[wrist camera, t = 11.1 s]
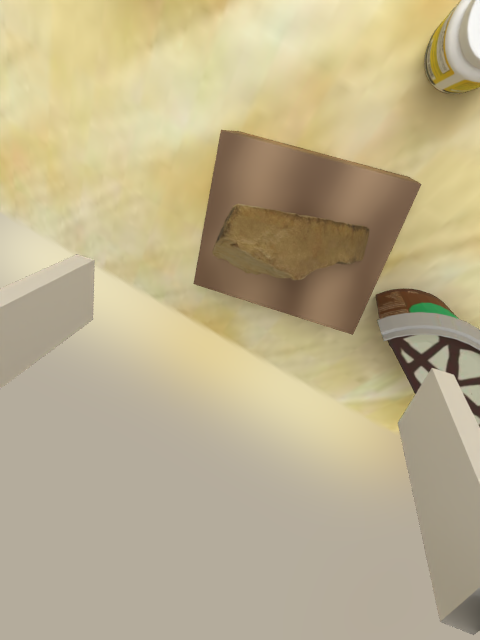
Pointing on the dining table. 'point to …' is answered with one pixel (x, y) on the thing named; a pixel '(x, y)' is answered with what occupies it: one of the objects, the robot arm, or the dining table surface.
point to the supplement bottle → (456, 50)
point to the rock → (286, 242)
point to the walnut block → (309, 200)
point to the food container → (431, 340)
